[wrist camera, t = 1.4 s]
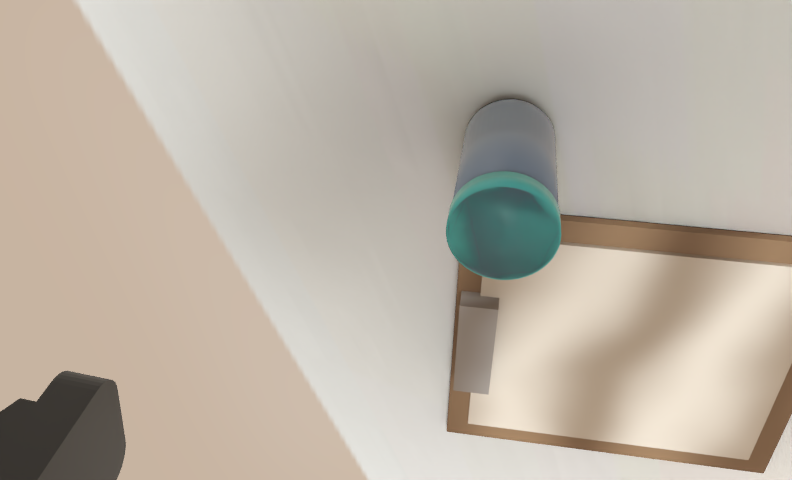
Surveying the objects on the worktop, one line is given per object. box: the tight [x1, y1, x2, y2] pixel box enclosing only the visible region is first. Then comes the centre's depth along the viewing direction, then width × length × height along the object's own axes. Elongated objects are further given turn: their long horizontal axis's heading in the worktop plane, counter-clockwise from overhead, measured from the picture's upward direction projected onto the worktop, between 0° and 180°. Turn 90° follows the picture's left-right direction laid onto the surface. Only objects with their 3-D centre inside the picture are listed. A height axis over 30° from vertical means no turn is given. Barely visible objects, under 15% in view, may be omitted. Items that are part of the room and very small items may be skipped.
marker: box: [446, 99, 561, 280], centre depth 24 cm, size 3×3×7 cm
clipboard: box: [447, 215, 792, 473], centre depth 31 cm, size 15×13×1 cm
